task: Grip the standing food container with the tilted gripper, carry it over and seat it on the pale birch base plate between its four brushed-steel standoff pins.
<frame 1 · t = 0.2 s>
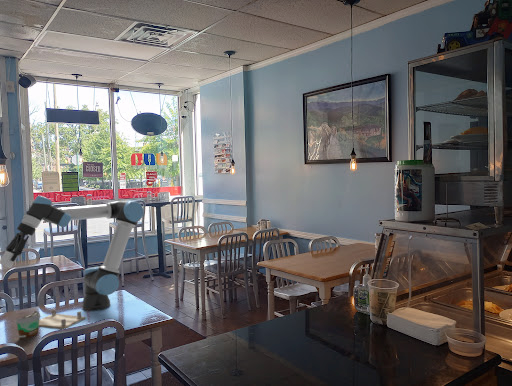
hand: (4, 265, 190), 35 cm above the table, tool tilted 30°, fingers open, 13 cm apart
pin plate: (58, 321, 211), on the table
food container: (32, 335, 194), on the table
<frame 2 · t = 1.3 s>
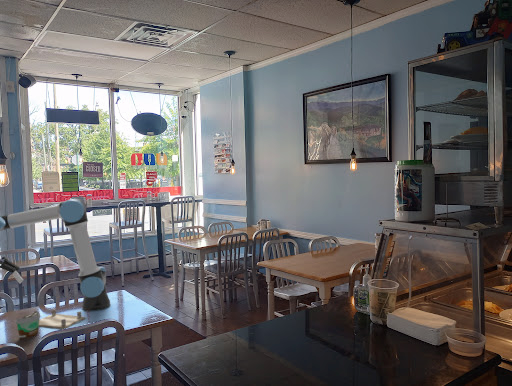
hand: (9, 285, 197), 23 cm above the table, tool tilted 45°, fingers open, 13 cm apart
nothing on the table moved.
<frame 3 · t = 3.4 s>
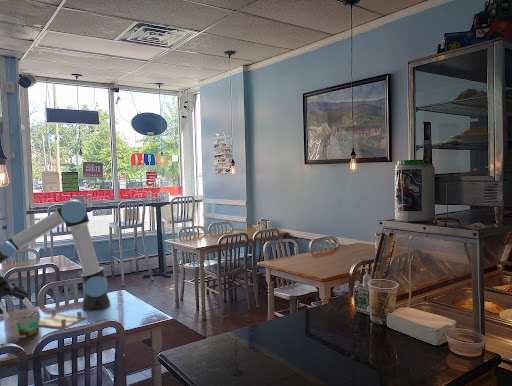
hand: (20, 313, 194), 10 cm above the table, tool tilted 45°, fingers open, 13 cm apart
nothing on the table moved.
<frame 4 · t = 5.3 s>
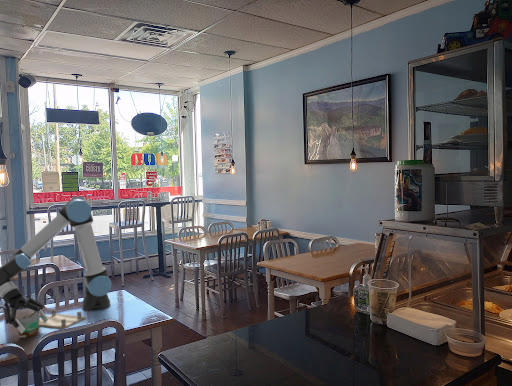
hand: (35, 326, 193), 5 cm above the table, tool tilted 45°, fingers open, 13 cm apart
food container: (32, 335, 194), on the table, touching gripper
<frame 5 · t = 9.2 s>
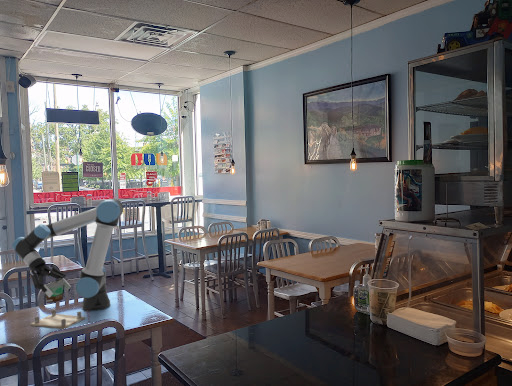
hand: (60, 291, 208), 16 cm above the table, tool tilted 45°, fingers closed on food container, 12 cm apart
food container: (58, 300, 210), point 12 cm above the table, touching gripper
when the fingers open (6 cm above the table, at t = 12.4 s): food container stays where it is, resting on pin plate.
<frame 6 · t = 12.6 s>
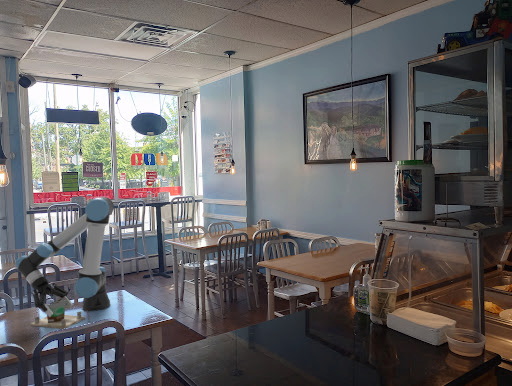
hand: (61, 310, 210), 6 cm above the table, tool tilted 45°, fingers open, 13 cm apart
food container: (59, 320, 211), point 1 cm above the table, touching pin plate
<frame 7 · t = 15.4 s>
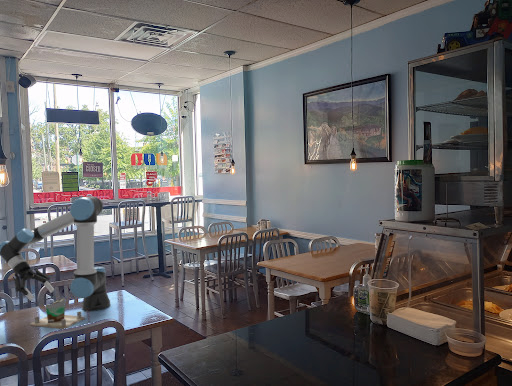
hand: (42, 295, 213), 14 cm above the table, tool tilted 45°, fingers open, 13 cm apart
nothing on the table moved.
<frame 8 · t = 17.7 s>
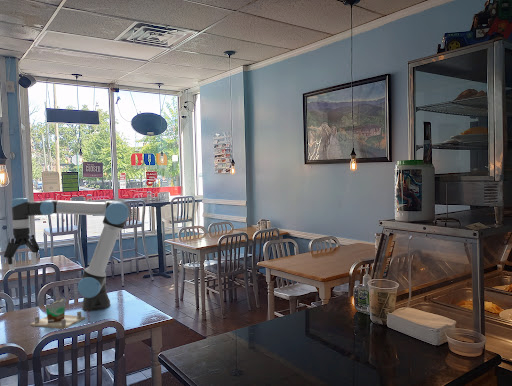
hand: (23, 267, 213), 29 cm above the table, tool pointing down, fingers open, 13 cm apart
nothing on the table moved.
at the end: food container 0.5 cm off-centre on the pin plate, point 0.8 cm above the pin plate's base; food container tilted 0°; the gripper is holding nothing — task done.
